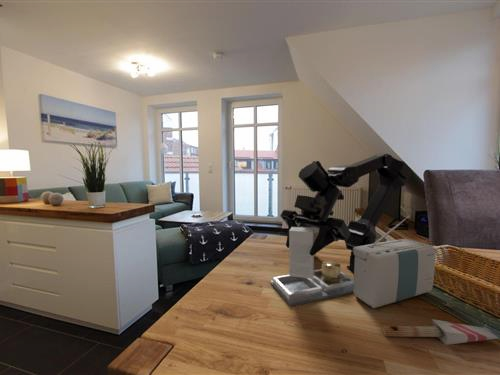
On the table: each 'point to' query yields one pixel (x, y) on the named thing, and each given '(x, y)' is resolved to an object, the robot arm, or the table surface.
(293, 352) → the table surface
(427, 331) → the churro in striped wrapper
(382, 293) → the white boxy appliance
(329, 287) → the grey divided tray
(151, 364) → the table surface
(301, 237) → the skincare box
